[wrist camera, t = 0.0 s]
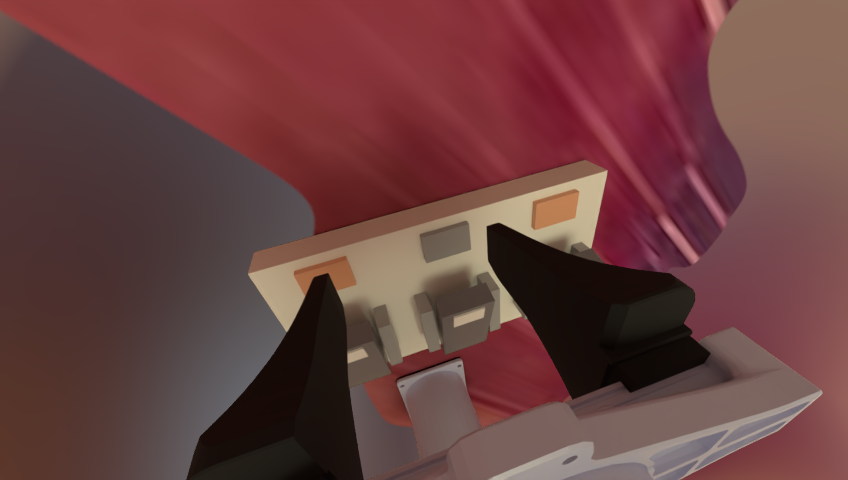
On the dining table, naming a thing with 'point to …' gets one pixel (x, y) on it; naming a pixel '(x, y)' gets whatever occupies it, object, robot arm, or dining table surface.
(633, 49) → the dining table surface
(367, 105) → the dining table surface
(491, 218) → the switch panel
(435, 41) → the dining table surface
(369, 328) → the block
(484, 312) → the rocker middle
